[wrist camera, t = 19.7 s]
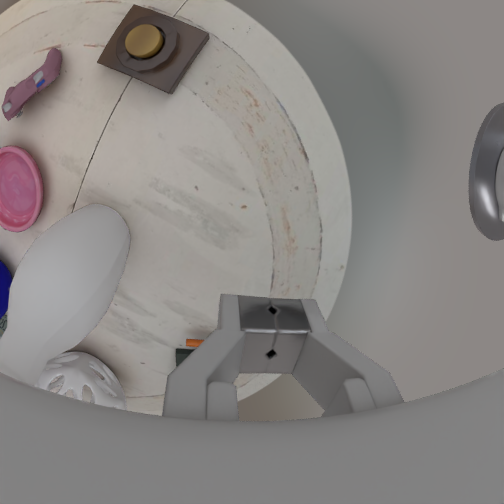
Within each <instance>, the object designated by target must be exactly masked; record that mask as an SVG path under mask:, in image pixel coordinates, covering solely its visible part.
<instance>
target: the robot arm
mask: <svg viewBox="0 0 504 504" xmlns="http://www.w3.org/2000/svg"><path fill="white" fill-rule="evenodd" d="M495 191H496V198H497V202H498V205H499V220H501V221H503V222H504V149H503V151H502V153H501V156H500V159H499V162H498V166H497V171H496V180H495ZM239 373H280V374H292V375H293V376H294V377H295V379H296V380H297V381H298V382H299V383H300V384H301V385H302V386H303V388H304V389H305V390H306V391H307V392H308V393H309V394H310V395H311V396H312V397H313V398H314V399H315V401H317V403H318V404H319V405H320V406H321V407H322V408H323V409H324V410H325V412H324V413H323V414H322V416H321V417H319V418H310V419H297V420H282V421H239V416H238V403H237V391H236V386H235V385H234V384H233V382H234V381H235V379H236V378H237V376H238V375H239ZM0 504H504V368H503V369H501V370H499V371H496V372H494V373H492V374H489V375H487V376H484V377H482V378H479V379H477V380H474V381H472V382H469V383H466V384H464V385H461V386H458V387H455V388H452V389H449V390H446V391H443V392H440V393H437V394H434V395H430V396H427V397H423V398H420V399H416V400H413V401H409V402H404V400H403V398H402V396H401V394H400V392H399V390H398V388H397V386H396V384H395V382H394V380H393V378H392V376H391V374H390V372H388V371H387V370H385V369H384V368H383V367H381V366H380V365H378V364H377V363H375V362H374V361H373V360H371V359H370V358H368V357H367V356H366V355H364V354H363V353H362V352H360V351H359V350H357V349H356V348H355V347H353V346H352V345H350V344H349V343H348V342H346V341H345V340H343V339H342V338H341V337H339V336H338V335H337V334H335V333H333V332H332V333H331V332H329V330H328V328H327V325H326V323H325V321H324V318H323V316H322V314H321V311H320V309H319V307H318V305H317V302H316V300H314V299H280V298H267V297H255V296H243V295H231V294H221V296H220V304H219V313H218V324H217V329H215V330H214V331H213V332H212V333H211V334H210V335H209V336H208V337H207V338H206V339H205V340H204V341H203V342H202V343H201V344H200V345H199V346H198V347H197V348H196V349H195V350H194V351H193V352H192V353H191V354H190V355H189V356H188V357H187V358H186V359H185V360H184V361H183V362H182V363H181V364H180V365H179V366H177V367H176V368H175V369H174V370H173V371H172V372H171V373H170V374H169V375H168V378H167V384H166V391H165V398H164V406H163V413H162V416H158V415H150V414H144V413H138V412H132V411H126V410H121V409H116V408H111V407H106V406H102V405H97V404H93V403H89V402H85V401H81V400H77V399H74V398H70V397H67V396H63V395H60V394H57V393H54V392H51V391H47V390H44V389H42V388H39V387H36V386H33V385H30V384H28V383H25V382H22V381H20V380H17V379H15V378H12V377H10V376H7V375H5V374H3V373H1V372H0Z"/></svg>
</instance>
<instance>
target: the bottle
mask: <svg viewBox="0 0 504 504" xmlns="http://www.w3.org/2000/svg"><path fill="white" fill-rule="evenodd" d="M130 240H131V239H130V233H129V229H128V227H127V225H126V223H125V221H124V219H123V218H122V217H121V216H120V215H119V214H118V213H117V212H116V211H115V210H113V209H111V208H110V207H108V206H105V205H101V204H90V205H87V206H85V207H83V208H81V209H79V210H77V211H75V212H73V213H71V214H69V215H67V216H66V217H64V218H62V219H60V220H59V221H58V222H56V223H55V224H54V225H52V226H51V227H50V228H49V229H47V230H46V231H45V232H44V233H42V234H41V235H40V236H39V237H37V238H36V239H35V241H34V242H33V244H32V245H31V247H30V248H29V250H28V251H27V253H26V254H25V256H24V257H23V259H22V260H21V262H20V263H19V265H18V268H17V270H16V273H15V275H14V278H13V281H12V284H11V286H10V292H9V303H8V318H7V328H6V330H5V332H4V334H3V335H2V337H1V339H0V372H1V373H3V374H5V375H7V376H10V377H12V378H15V379H17V380H20V381H22V382H25V383H28V384H30V385H33V386H35V385H36V383H37V381H38V379H39V377H40V375H41V373H42V371H43V369H44V367H45V365H46V363H47V361H48V360H50V359H52V358H54V357H56V356H58V355H60V354H61V353H63V352H65V351H67V350H69V349H71V348H73V347H74V346H76V345H77V344H78V343H80V342H81V341H82V340H83V339H84V338H85V337H86V336H87V335H88V334H89V333H90V332H91V331H92V330H93V329H94V328H95V327H96V326H97V324H98V323H99V321H100V320H101V319H102V317H103V316H104V314H105V313H106V312H107V310H108V308H109V306H110V304H111V302H112V300H113V297H114V294H115V292H116V289H117V287H118V284H119V281H120V279H121V276H122V274H123V272H124V268H125V264H126V259H127V255H128V252H129V247H130Z"/></svg>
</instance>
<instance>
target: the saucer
mask: <svg viewBox="0 0 504 504" xmlns="http://www.w3.org/2000/svg"><path fill="white" fill-rule="evenodd" d="M42 204H43V182H42V177H41V173H40V170H39V168H38V166H37V164H36V162H35V160H34V159H33V158H32V156H31V155H30V154H29V153H28V152H27V151H25V150H24V149H22V148H20V147H18V146H6V147H3V148H0V225H1V226H2V227H3V228H5V229H7V230H9V231H12V232H21V231H24V230H26V229H28V228H29V227H30V226H31V225H33V223H34V222H35V221H36V220H37V218H38V216H39V214H40V211H41V208H42Z"/></svg>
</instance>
